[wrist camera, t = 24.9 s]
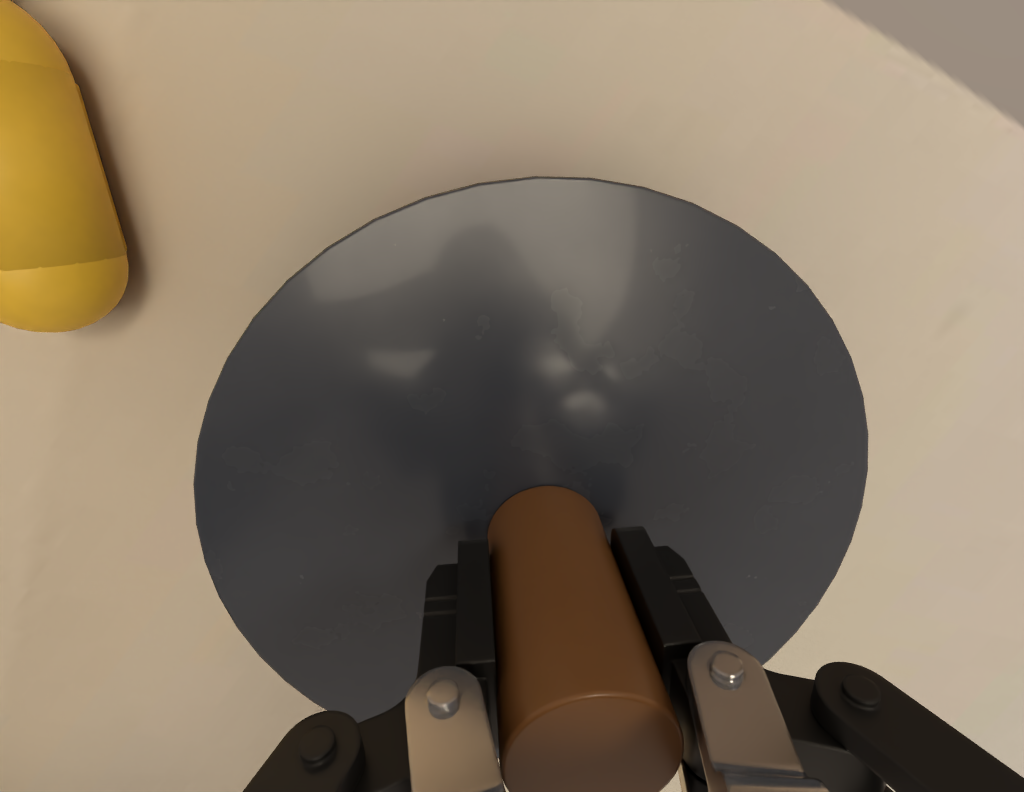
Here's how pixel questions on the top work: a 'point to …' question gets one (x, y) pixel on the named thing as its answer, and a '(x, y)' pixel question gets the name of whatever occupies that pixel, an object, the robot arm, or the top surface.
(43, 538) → the top surface
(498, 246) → the lid
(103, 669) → the top surface
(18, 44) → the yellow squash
